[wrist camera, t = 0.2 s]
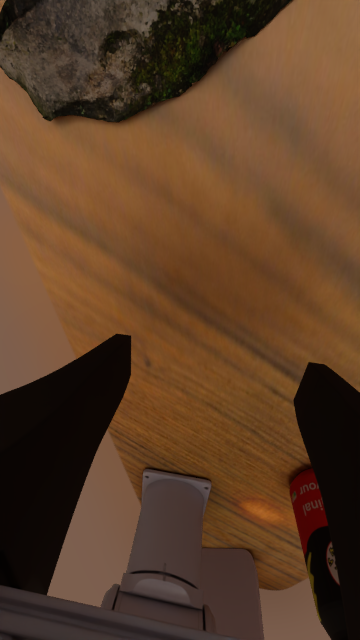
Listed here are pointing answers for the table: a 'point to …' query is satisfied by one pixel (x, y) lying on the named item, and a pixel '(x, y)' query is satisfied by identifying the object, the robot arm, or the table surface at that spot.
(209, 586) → the electronic device
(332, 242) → the table surface
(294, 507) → the beverage can
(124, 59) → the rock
